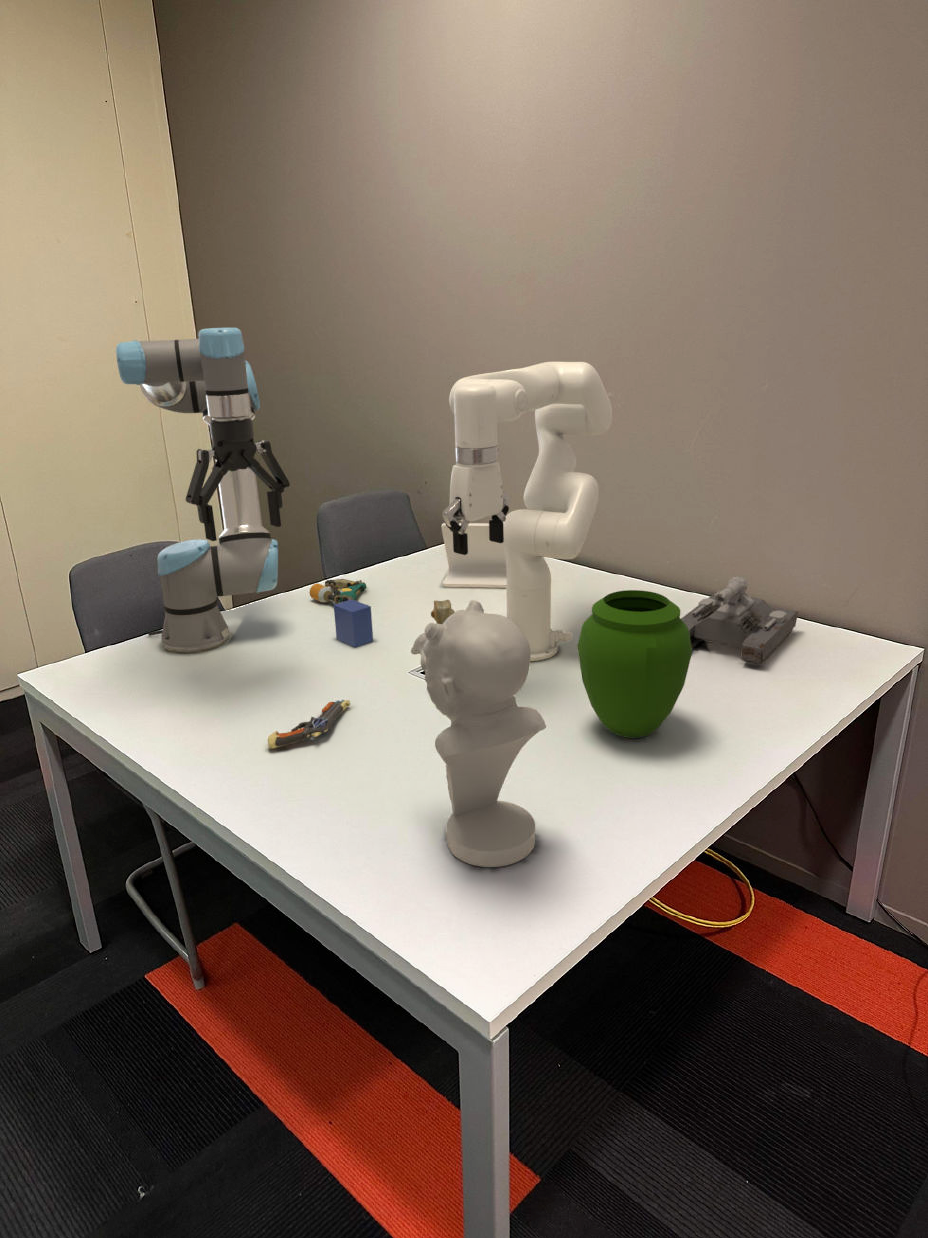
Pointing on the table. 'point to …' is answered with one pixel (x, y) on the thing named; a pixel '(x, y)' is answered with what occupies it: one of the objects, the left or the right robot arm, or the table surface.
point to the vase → (634, 660)
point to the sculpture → (441, 611)
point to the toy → (740, 622)
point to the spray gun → (337, 590)
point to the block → (353, 623)
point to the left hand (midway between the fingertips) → (244, 532)
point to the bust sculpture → (481, 729)
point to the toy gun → (309, 726)
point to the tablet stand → (475, 560)
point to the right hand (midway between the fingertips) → (478, 547)
